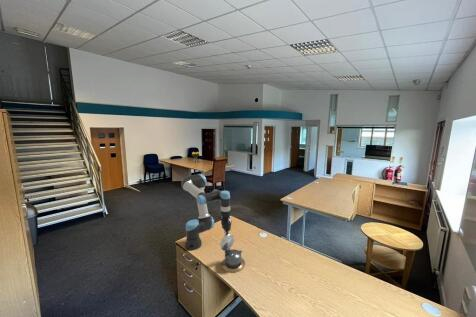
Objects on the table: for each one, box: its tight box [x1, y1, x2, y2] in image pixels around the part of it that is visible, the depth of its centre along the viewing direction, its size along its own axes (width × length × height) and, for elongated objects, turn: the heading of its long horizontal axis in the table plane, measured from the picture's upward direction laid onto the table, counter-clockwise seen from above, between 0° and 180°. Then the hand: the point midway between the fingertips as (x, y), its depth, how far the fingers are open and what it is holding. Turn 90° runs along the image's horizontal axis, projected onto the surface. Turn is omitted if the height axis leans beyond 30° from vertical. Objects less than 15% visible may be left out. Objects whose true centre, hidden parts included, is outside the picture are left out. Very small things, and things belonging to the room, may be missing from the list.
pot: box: [220, 248, 246, 274], centre depth 167 cm, size 19×19×9 cm
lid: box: [219, 233, 235, 253], centre depth 171 cm, size 14×14×2 cm
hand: (226, 237), depth 170 cm, fingers closed
